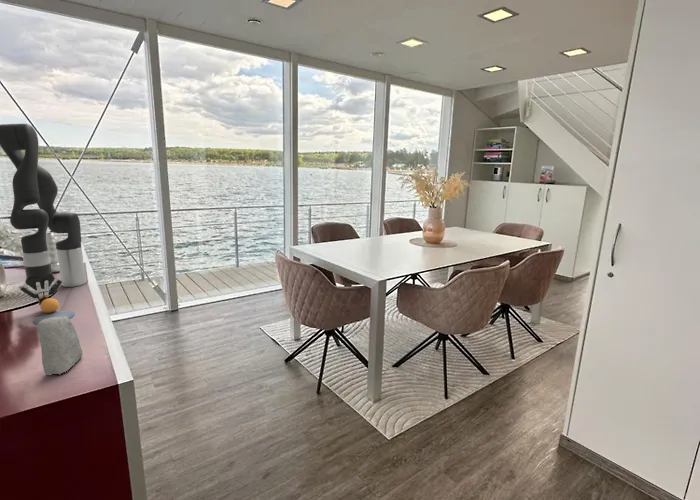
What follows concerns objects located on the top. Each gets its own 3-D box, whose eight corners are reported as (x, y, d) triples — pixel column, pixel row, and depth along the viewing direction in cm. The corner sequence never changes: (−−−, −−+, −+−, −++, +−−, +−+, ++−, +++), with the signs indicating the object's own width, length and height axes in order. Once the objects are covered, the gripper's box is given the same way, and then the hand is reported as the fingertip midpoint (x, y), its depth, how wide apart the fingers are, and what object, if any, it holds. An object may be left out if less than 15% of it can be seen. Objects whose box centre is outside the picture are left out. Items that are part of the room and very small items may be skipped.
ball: (49, 297, 143) (53, 293, 140) (60, 308, 144) (64, 304, 141) (35, 306, 139) (38, 302, 136) (46, 317, 140) (49, 313, 137)
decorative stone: (67, 356, 110) (59, 308, 107) (88, 355, 110) (81, 308, 107) (40, 376, 99) (31, 324, 96) (64, 376, 100) (55, 324, 96)
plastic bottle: (66, 270, 193) (61, 232, 188) (52, 274, 186) (46, 235, 182) (58, 269, 195) (52, 231, 190) (44, 272, 188) (37, 234, 184)
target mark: (54, 310, 142) (54, 309, 142) (82, 312, 141) (82, 312, 141) (23, 323, 131) (23, 322, 131) (54, 325, 129) (54, 325, 129)
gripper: (16, 268, 131) (25, 314, 135) (62, 261, 141) (68, 304, 145) (11, 264, 135) (19, 308, 139) (55, 257, 145) (62, 299, 149)
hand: (44, 306), depth 142 cm, fingers closed
